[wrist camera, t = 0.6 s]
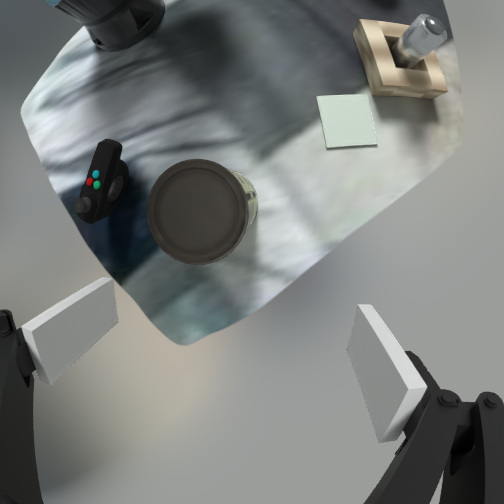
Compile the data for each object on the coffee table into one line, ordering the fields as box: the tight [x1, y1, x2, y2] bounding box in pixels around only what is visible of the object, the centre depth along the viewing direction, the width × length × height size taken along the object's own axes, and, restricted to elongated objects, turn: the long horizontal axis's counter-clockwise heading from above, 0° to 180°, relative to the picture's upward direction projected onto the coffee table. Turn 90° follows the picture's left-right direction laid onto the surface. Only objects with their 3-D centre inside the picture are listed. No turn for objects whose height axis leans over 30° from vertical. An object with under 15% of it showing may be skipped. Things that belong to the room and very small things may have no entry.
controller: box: [74, 139, 129, 224], centre depth 35 cm, size 4×12×10 cm, turn 157°
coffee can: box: [147, 159, 258, 265], centre depth 32 cm, size 10×10×14 cm
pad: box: [316, 95, 378, 148], centre depth 34 cm, size 8×8×1 cm
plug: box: [390, 14, 447, 69], centre depth 24 cm, size 4×4×15 cm
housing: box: [353, 19, 448, 99], centre depth 29 cm, size 12×12×5 cm
